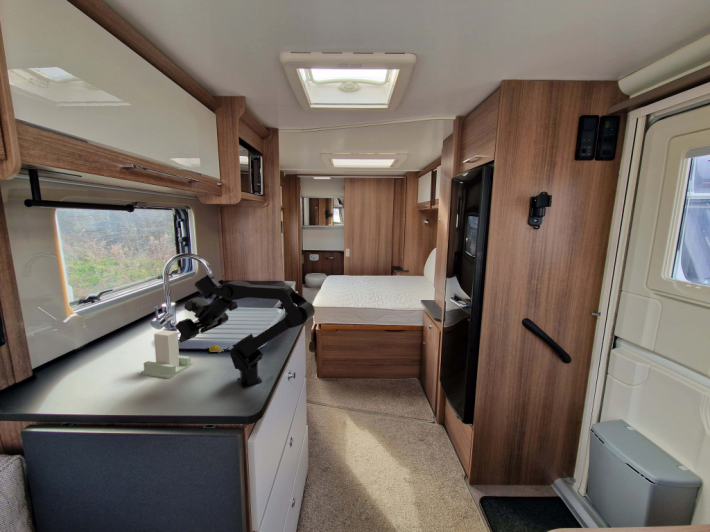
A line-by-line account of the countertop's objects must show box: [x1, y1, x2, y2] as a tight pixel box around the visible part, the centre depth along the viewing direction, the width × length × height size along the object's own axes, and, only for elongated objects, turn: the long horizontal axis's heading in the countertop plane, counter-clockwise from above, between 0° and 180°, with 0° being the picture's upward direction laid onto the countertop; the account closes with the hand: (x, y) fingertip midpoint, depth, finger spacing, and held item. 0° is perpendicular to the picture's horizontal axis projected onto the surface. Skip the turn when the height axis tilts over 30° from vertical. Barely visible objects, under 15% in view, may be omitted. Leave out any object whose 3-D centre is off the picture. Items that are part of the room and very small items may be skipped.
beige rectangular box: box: [153, 329, 180, 368], centre depth 101 cm, size 6×4×13 cm, turn 77°
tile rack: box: [140, 354, 195, 380], centre depth 101 cm, size 12×11×4 cm
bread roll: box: [208, 345, 225, 353], centre depth 120 cm, size 8×9×4 cm
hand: (191, 336), depth 98 cm, fingers open, 9 cm apart
